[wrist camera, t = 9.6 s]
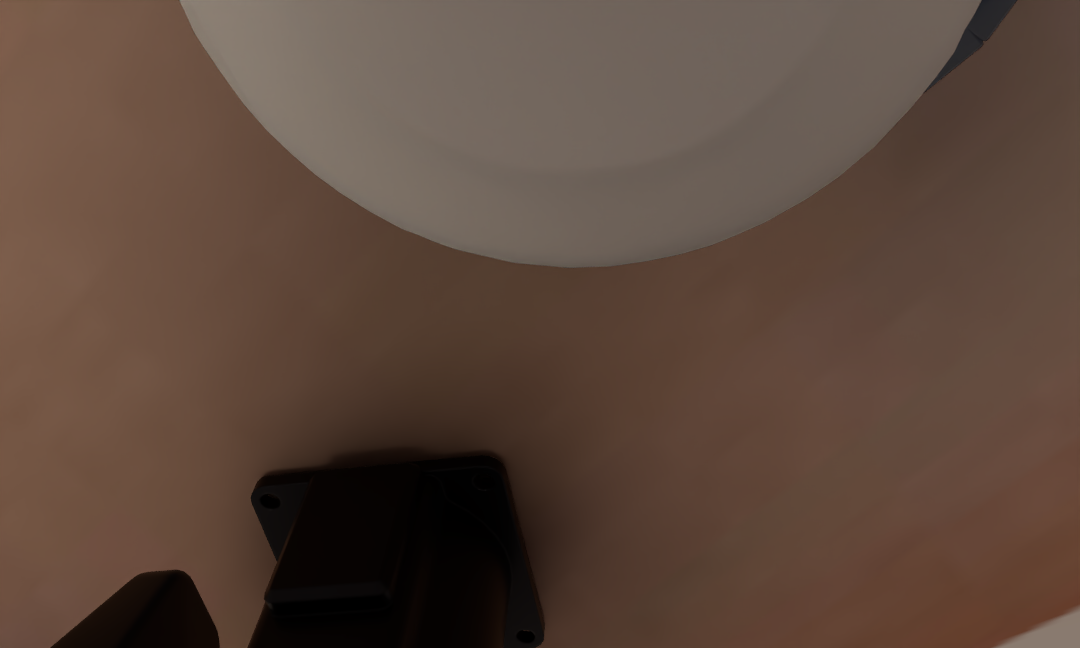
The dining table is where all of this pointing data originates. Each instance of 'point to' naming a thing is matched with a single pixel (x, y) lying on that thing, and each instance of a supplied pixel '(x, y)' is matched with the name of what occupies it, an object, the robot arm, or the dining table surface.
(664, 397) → the dining table surface
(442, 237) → the sprinkles bottle
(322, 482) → the robot arm
